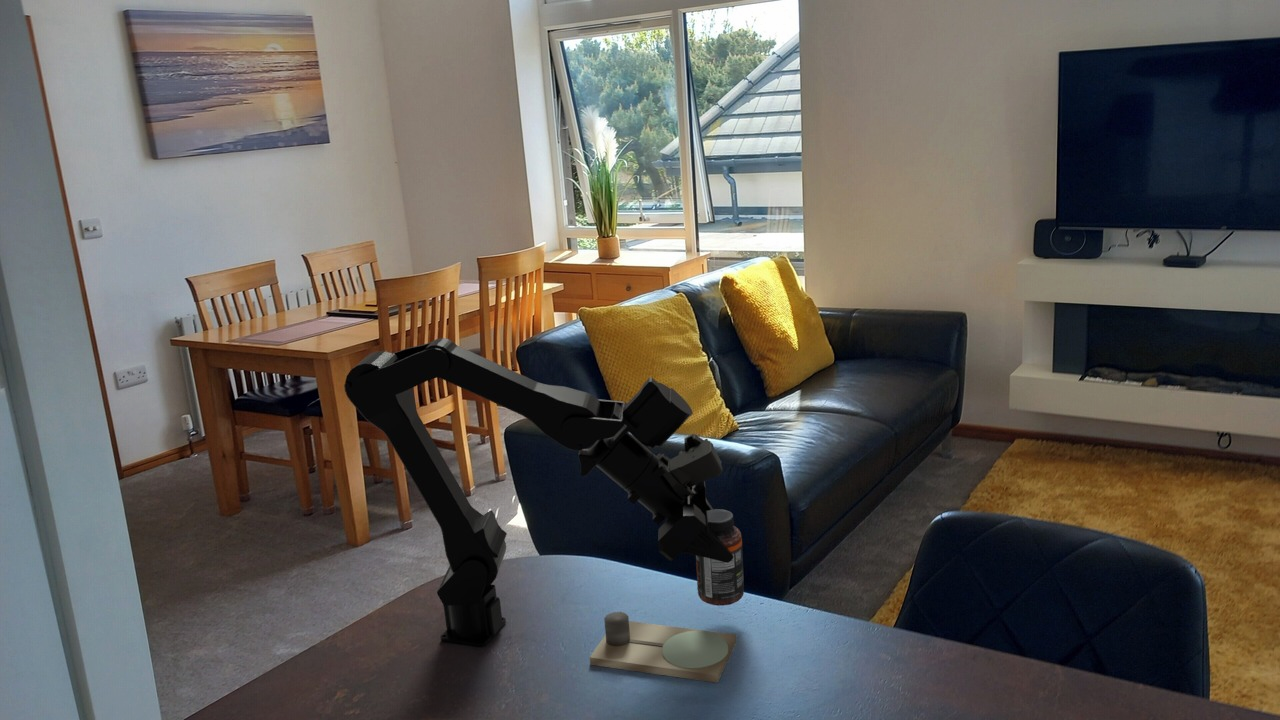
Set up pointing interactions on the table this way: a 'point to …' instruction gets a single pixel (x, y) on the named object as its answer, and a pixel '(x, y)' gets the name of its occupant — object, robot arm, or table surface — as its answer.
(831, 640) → the table surface
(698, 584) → the supplement bottle
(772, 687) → the table surface
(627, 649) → the board
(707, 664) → the pad
